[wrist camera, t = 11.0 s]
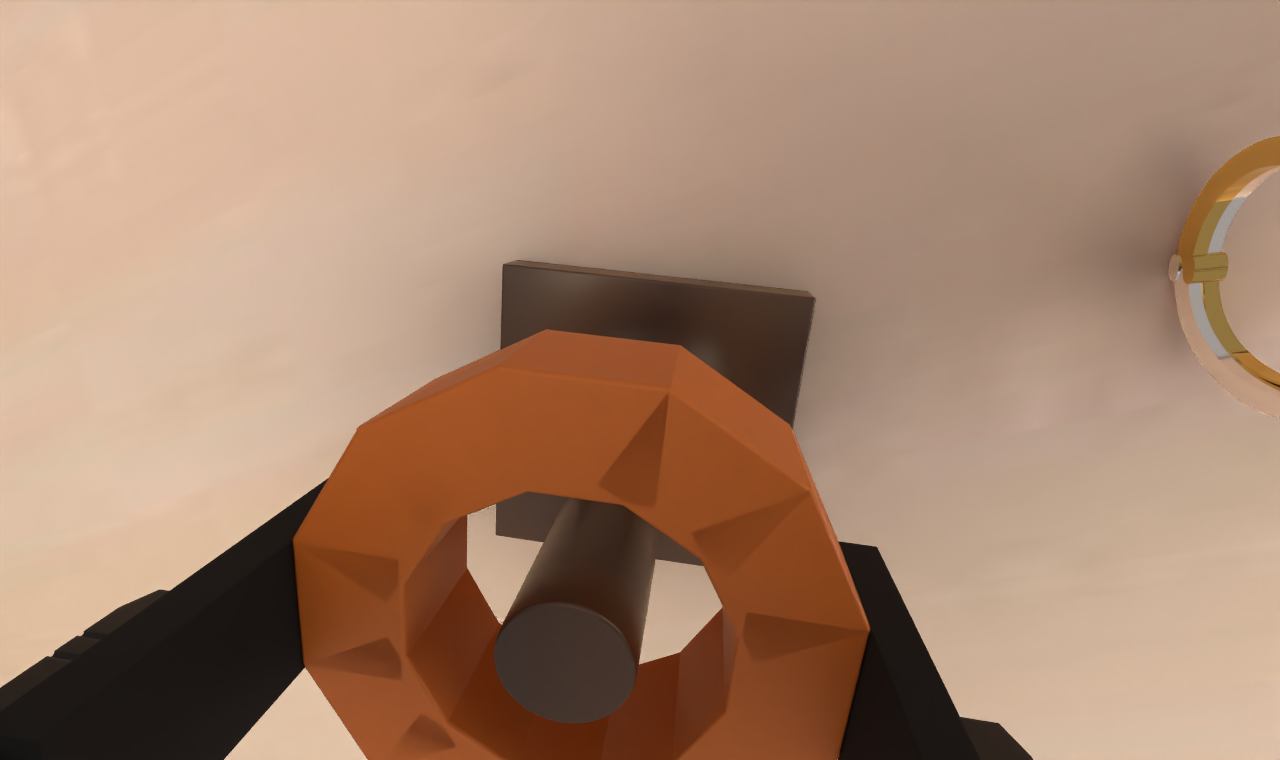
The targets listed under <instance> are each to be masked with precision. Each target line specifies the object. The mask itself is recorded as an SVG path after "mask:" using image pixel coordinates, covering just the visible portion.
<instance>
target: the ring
mask: <svg viewBox="0 0 1280 760" xmlns="http://www.w3.org/2000/svg"><path fill="white" fill-rule="evenodd" d="M1279 170H1280V136H1276V137H1272V138H1268V139H1265V140H1262V141H1260V142H1257V143H1255V144H1253V145H1251V146H1249V147H1247V148H1246V149H1244V150H1242V151H1241V152H1239V153H1238V154H1236V155H1235V156H1233V157H1232V158H1231V159H1230V160H1228V161H1227V162H1226V163H1225V164H1224V165H1223V166H1222V167H1221V168H1220V169H1219V170H1218V171H1217V172H1216V173H1215V174H1214V175H1213V176H1212V177H1211V179H1210V180H1209V181H1208V183H1207V184H1206V185H1205V187H1204V188H1203V190H1202V191H1201V193H1200V194H1199V196H1198V198H1197V199H1196V201H1195V203H1194V205H1193V207H1192V209H1191V211H1190V213H1189V216H1188V218H1187V221H1186V223H1185V226H1184V229H1183V232H1182V236H1181V239H1180V243H1179V248H1178V253H1177V254H1174V255H1172V257H1171V259H1170V262H1169V267H1168V274H1169V279H1170V281H1172V282H1173V281H1175V298H1176V305H1177V311H1178V315H1179V319H1180V323H1181V326H1182V329H1183V332H1184V334H1185V337H1186V339H1187V341H1188V343H1189V345H1190V347H1191V349H1192V351H1193V353H1194V354H1195V356H1196V357H1197V359H1198V361H1199V362H1200V363H1201V365H1202V366H1203V367H1204V369H1205V370H1206V371H1207V372H1208V374H1209V375H1210V376H1211V377H1212V378H1213V379H1214V380H1215V381H1216V382H1217V383H1218V384H1219V385H1220V386H1221V387H1222V388H1223V389H1224V390H1225V391H1227V392H1228V393H1229V394H1230V395H1232V396H1233V397H1234V398H1236V399H1237V400H1239V401H1240V402H1242V403H1243V404H1245V405H1247V406H1248V407H1250V408H1252V409H1254V410H1256V411H1259V412H1261V413H1263V414H1266V415H1269V416H1272V417H1276V418H1279V419H1280V373H1278V372H1276V371H1274V370H1273V369H1271V368H1269V367H1268V366H1266V365H1264V364H1263V363H1262V362H1260V361H1259V360H1258V359H1256V358H1255V357H1254V356H1253V355H1252V354H1250V353H1249V352H1248V351H1247V350H1246V349H1245V348H1244V346H1243V345H1242V344H1241V343H1240V342H1239V340H1238V339H1237V338H1236V336H1235V335H1234V333H1233V332H1232V330H1231V328H1230V326H1229V324H1228V322H1227V320H1226V318H1225V315H1224V312H1223V309H1222V305H1221V300H1220V294H1219V281H1222V280H1223V279H1224V278H1225V277H1226V274H1227V271H1228V256H1227V254H1226V253H1224V252H1221V250H1222V246H1223V242H1224V239H1225V236H1226V233H1227V231H1228V228H1229V226H1230V224H1231V222H1232V220H1233V218H1234V216H1235V214H1236V212H1237V211H1238V209H1239V208H1240V206H1241V205H1242V203H1243V202H1244V201H1245V199H1246V198H1247V197H1248V196H1249V195H1250V194H1251V192H1252V191H1253V190H1254V189H1255V188H1256V187H1257V186H1259V185H1260V184H1261V183H1262V182H1263V181H1264V180H1266V179H1267V178H1268V177H1270V176H1271V175H1272V174H1274V173H1276V172H1277V171H1279Z"/></svg>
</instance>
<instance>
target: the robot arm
mask: <svg viewBox="0 0 1280 760" xmlns="http://www.w3.org/2000/svg"><path fill="white" fill-rule="evenodd" d="M327 480H328V479H326V480H325V481H324V482H322V483H321V484H319V485H318V486H317V487H315V488H314V489H312V490H311V491H310V492H308V493H307V494H305V495H304V496H303V497H301V498H300V499H298V500H297V501H296V502H294V503H293V504H291V505H290V506H288V507H287V508H286V509H284V510H283V511H281V512H280V513H279V514H277V515H276V516H274V517H273V518H272V519H270V520H269V521H267V522H266V523H265V524H263V525H262V526H260V527H259V528H258V529H256V530H255V531H253V532H252V533H250V534H249V535H248V536H246V537H245V538H243V539H242V540H241V541H239V542H238V543H236V544H235V545H234V546H232V547H231V548H229V549H228V550H227V551H225V552H224V553H222V554H221V555H220V556H218V557H217V558H215V559H214V560H212V561H211V562H210V563H208V564H207V565H205V566H204V567H203V568H201V569H200V570H198V571H197V572H196V573H194V574H193V575H191V576H190V577H189V578H187V579H186V580H184V581H183V582H182V583H180V584H179V585H177V586H176V587H174V588H173V589H172V590H170V591H166V590H157V591H155V592H153V593H151V594H148V595H146V596H144V597H141V598H139V599H137V600H135V601H132V602H130V603H128V604H126V605H123V606H121V607H119V608H117V609H116V610H114V611H113V612H111V613H110V614H109V615H107V616H106V617H104V618H103V619H101V620H100V621H98V622H97V623H95V624H94V625H92V626H91V627H89V628H88V629H86V630H85V631H84V634H83V635H82V636H76V637H75V638H73V639H72V640H70V641H69V642H67V643H66V644H64V645H63V646H61V647H60V648H58V649H57V650H55V653H54V655H53V656H52V657H49V656H47V657H45V658H44V659H42V660H41V661H39V662H38V663H36V664H35V665H33V666H32V667H30V668H29V669H27V670H26V671H24V672H23V673H21V674H20V675H18V676H17V677H16V678H14V679H13V680H11V681H10V682H8V683H7V684H5V685H4V686H2V687H1V688H0V760H224V759H225V758H226V756H227V755H228V754H229V753H230V752H231V751H232V750H233V749H234V747H235V746H236V745H237V744H238V743H239V742H240V741H241V739H242V738H243V737H244V736H245V735H246V734H247V733H248V731H249V730H250V729H251V728H252V727H253V726H254V725H255V724H256V722H257V721H258V720H259V719H260V718H261V717H262V716H263V714H264V713H265V712H266V711H267V710H268V709H269V708H270V706H271V705H272V704H273V703H274V702H275V701H276V700H277V699H278V697H279V696H280V695H281V694H282V693H283V692H284V691H285V689H286V688H287V687H288V686H289V685H290V684H291V683H292V681H293V680H294V679H295V678H296V677H297V676H298V675H299V674H300V672H301V671H302V670H303V669H304V668H305V666H304V664H303V655H302V643H301V632H300V620H299V609H298V597H297V586H296V574H295V563H294V551H293V538H294V536H295V535H296V533H297V531H298V529H299V528H300V526H301V524H302V523H303V521H304V519H305V518H306V516H307V514H308V512H309V511H310V509H311V507H312V506H313V504H314V502H315V501H316V499H317V497H318V495H319V494H320V492H321V490H322V489H323V487H324V485H325V484H326V482H327ZM838 542H839V541H838ZM839 545H840V547H841V550H842V553H843V555H844V558H845V561H846V563H847V566H848V569H849V571H850V574H851V577H852V579H853V582H854V585H855V588H856V590H857V593H858V596H859V598H860V601H861V604H862V606H863V609H864V612H865V614H866V617H867V620H868V622H869V625H870V633H869V636H868V640H867V644H866V648H865V652H864V656H863V660H862V664H861V669H860V673H859V677H858V681H857V685H856V689H855V693H854V697H853V701H852V705H851V709H850V713H849V717H848V721H847V725H846V729H845V734H844V738H843V742H842V746H841V750H840V754H841V755H840V757H839V758H838V760H1033V759H1032V757H1031V756H1030V755H1029V754H1028V753H1027V752H1026V751H1025V750H1024V749H1023V748H1022V747H1021V746H1020V744H1019V743H1018V742H1017V741H1016V740H1015V739H1014V738H1013V737H1012V736H1011V735H1010V734H1009V733H1008V732H1007V731H1006V730H1005V729H1004V728H1003V727H1002V726H1001V725H1000V724H999V723H994V722H988V721H981V720H975V719H969V718H963V717H960V716H959V714H958V712H957V710H956V708H955V706H954V704H953V702H952V700H951V698H950V696H949V694H948V691H947V689H946V687H945V685H944V683H943V681H942V679H941V677H940V675H939V673H938V671H937V669H936V667H935V665H934V663H933V661H932V659H931V657H930V655H929V653H928V651H927V648H926V646H925V644H924V642H923V640H922V638H921V636H920V634H919V632H918V630H917V628H916V626H915V624H914V622H913V620H912V618H911V616H910V614H909V612H908V610H907V608H906V606H905V603H904V601H903V599H902V597H901V595H900V593H899V591H898V589H897V587H896V585H895V583H894V581H893V579H892V577H891V575H890V573H889V571H888V569H887V567H886V565H885V563H884V560H883V558H882V556H881V554H880V552H879V550H878V548H877V547H874V546H867V545H860V544H853V543H846V542H839Z"/></svg>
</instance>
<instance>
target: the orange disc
mask: <svg viewBox="0 0 1280 760" xmlns="http://www.w3.org/2000/svg"><path fill="white" fill-rule="evenodd" d="M525 492H534V493H541V494H548V495H555V496H562V497H569V498H576V499H583V500H590V501H597V502H605V503H612V504H619V505H623V506H625V507H626V508H628V509H629V510H630V511H632V512H633V513H635V514H636V515H638V516H639V517H640V518H642V519H643V520H645V521H646V522H648V523H649V524H650V525H652V526H653V527H655V528H656V529H658V530H659V531H660V532H662V533H663V534H665V535H666V536H668V537H669V538H670V539H672V540H673V541H675V542H676V543H678V544H679V545H680V546H682V547H683V548H685V549H686V550H688V551H689V552H690V553H692V554H693V555H695V556H696V557H698V558H699V559H700V560H701V561H702V563H703V565H704V568H705V570H706V572H707V574H708V576H709V578H710V580H711V582H712V584H713V586H714V589H715V591H716V593H717V595H718V597H719V599H720V601H721V603H722V605H723V607H722V609H721V610H720V611H719V612H718V613H717V614H716V615H715V616H714V617H713V618H712V619H711V620H710V621H709V622H708V623H707V624H706V625H705V627H704V628H703V629H702V630H701V631H700V632H699V633H698V634H697V635H696V636H695V637H694V638H693V639H692V640H691V641H690V642H689V643H688V645H687V646H686V647H685V648H684V649H683V650H682V651H681V652H680V653H677V654H673V655H670V656H667V657H663V658H660V659H656V660H653V661H650V662H646V663H643V664H639V665H638V671H637V677H636V682H635V685H634V688H633V690H632V692H631V694H630V696H629V697H628V698H627V700H626V701H625V702H624V703H623V705H621V706H620V707H619V708H618V709H617V710H616V711H614V712H613V713H611V714H610V715H608V716H606V717H604V718H601V719H599V720H596V721H592V722H587V723H563V722H557V721H553V720H549V719H546V718H543V717H541V716H539V715H537V714H534V713H533V712H531V711H529V710H528V709H526V708H525V707H523V706H522V705H521V704H519V703H518V702H517V701H516V700H515V699H514V698H513V697H512V696H511V695H510V694H509V693H508V691H507V690H506V689H505V687H504V686H503V684H502V682H501V680H500V678H499V676H498V673H497V670H496V666H495V661H494V647H495V641H496V638H497V635H498V633H499V630H500V628H501V626H502V625H501V624H500V623H499V622H498V621H497V619H496V617H495V615H494V614H493V612H492V610H491V609H490V607H489V605H488V603H487V602H486V600H485V598H484V596H483V595H482V593H481V591H480V589H479V588H478V586H477V584H476V583H475V581H474V579H473V577H472V576H471V574H470V572H469V570H468V569H467V515H468V514H470V513H473V512H476V511H478V510H481V509H484V508H486V507H489V506H491V505H494V504H497V503H499V502H502V501H504V500H507V499H510V498H512V497H515V496H518V495H520V494H523V493H525ZM293 551H294V563H295V574H296V586H297V597H298V609H299V620H300V632H301V643H302V655H303V664H304V666H305V667H306V669H307V670H308V672H309V673H310V675H311V676H312V678H313V679H314V681H315V682H316V684H317V685H318V687H319V688H320V690H321V691H322V693H323V694H324V696H325V697H326V699H327V700H328V701H329V703H330V704H331V706H332V707H333V709H334V710H335V712H336V713H337V715H338V716H339V718H340V719H341V721H342V722H343V724H344V725H345V727H346V728H347V730H348V731H349V733H350V734H351V736H352V737H353V739H354V740H355V742H356V743H357V744H358V746H359V747H360V749H361V750H362V752H363V753H364V755H365V756H366V758H367V759H368V760H837V759H838V758H839V757H840V755H841V754H840V750H841V746H842V742H843V738H844V734H845V729H846V725H847V721H848V717H849V713H850V709H851V705H852V701H853V697H854V693H855V689H856V685H857V681H858V677H859V673H860V669H861V664H862V660H863V656H864V652H865V648H866V644H867V640H868V636H869V633H870V625H869V622H868V620H867V617H866V614H865V612H864V609H863V606H862V604H861V601H860V598H859V596H858V593H857V590H856V588H855V585H854V582H853V579H852V577H851V574H850V571H849V569H848V566H847V563H846V561H845V558H844V555H843V553H842V550H841V547H840V545H839V542H838V539H837V537H836V534H835V532H834V530H833V527H832V525H831V522H830V520H829V518H828V515H827V513H826V510H825V508H824V505H823V503H822V501H821V498H820V496H819V493H818V491H817V489H816V486H815V484H814V481H813V479H812V477H811V474H810V472H809V469H808V467H807V465H806V462H805V460H804V457H803V455H802V453H801V450H800V448H799V445H798V443H797V440H796V438H795V436H794V433H793V431H792V428H791V426H790V424H788V423H787V422H785V421H784V420H783V419H781V418H780V417H778V416H777V415H776V414H774V413H773V412H772V411H770V410H769V409H767V408H766V407H765V406H763V405H762V404H761V403H759V402H758V401H757V400H755V399H754V398H752V397H751V396H750V395H748V394H747V393H746V392H744V391H743V390H741V389H740V388H739V387H737V386H736V385H735V384H733V383H732V382H730V381H729V380H728V379H726V378H725V377H724V376H722V375H721V374H719V373H718V372H717V371H715V370H714V369H713V368H711V367H710V366H708V365H707V364H706V363H704V362H703V361H702V360H700V359H699V358H697V357H696V356H695V355H693V354H692V353H691V352H689V351H688V350H687V349H685V348H684V347H682V346H680V345H674V344H666V343H657V342H649V341H640V340H632V339H623V338H615V337H606V336H598V335H589V334H581V333H572V332H564V331H555V330H549V329H546V330H544V331H541V332H539V333H537V334H535V335H532V336H530V337H528V338H526V339H523V340H521V341H519V342H517V343H515V344H512V345H510V346H508V347H506V348H503V349H501V350H499V351H497V352H494V353H492V354H490V355H488V356H486V357H483V358H481V359H479V360H477V361H474V362H472V363H470V364H468V365H465V366H463V367H461V368H459V369H457V370H454V371H452V372H450V373H448V374H445V375H443V376H441V377H439V378H436V379H434V380H433V381H431V382H430V383H428V384H426V385H425V386H423V387H421V388H420V389H418V390H417V391H415V392H413V393H412V394H410V395H409V396H407V397H405V398H404V399H402V400H400V401H399V402H397V403H396V404H394V405H392V406H391V407H389V408H388V409H386V410H384V411H383V412H381V413H380V414H378V415H376V416H375V417H373V418H371V419H370V420H368V421H367V422H365V423H363V424H362V425H360V426H359V427H358V428H357V431H356V433H355V434H354V436H353V438H352V439H351V441H350V443H349V445H348V446H347V448H346V450H345V451H344V453H343V455H342V456H341V458H340V460H339V462H338V463H337V465H336V467H335V468H334V470H333V472H332V473H331V475H330V477H329V478H328V480H327V482H326V484H325V485H324V487H323V489H322V490H321V492H320V494H319V495H318V497H317V499H316V501H315V502H314V504H313V506H312V507H311V509H310V511H309V512H308V514H307V516H306V518H305V519H304V521H303V523H302V524H301V526H300V528H299V529H298V531H297V533H296V535H295V536H294V538H293Z"/></svg>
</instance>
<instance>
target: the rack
mask: <svg viewBox="0 0 1280 760" xmlns="http://www.w3.org/2000/svg"><path fill="white" fill-rule="evenodd" d="M815 302H816V299H815V297H813V296H812V295H811V294H810V293H809V292H807V291H799V290H790V289H780V288H771V287H762V286H753V285H743V284H734V283H725V282H716V281H706V280H697V279H688V278H679V277H669V276H660V275H651V274H642V273H632V272H623V271H614V270H605V269H595V268H586V267H577V266H568V265H558V264H549V263H540V262H531V261H521V260H517V261H513V262H509V263H506V264H503V275H502V313H501V349H503V348H506V347H508V346H510V345H512V344H515V343H517V342H519V341H521V340H523V339H526V338H528V337H530V336H532V335H535V334H537V333H539V332H541V331H544V330H546V329H549V330H555V331H564V332H572V333H581V334H589V335H598V336H606V337H615V338H623V339H632V340H640V341H649V342H657V343H666V344H674V345H680V346H682V347H684V348H685V349H687V350H688V351H689V352H691V353H692V354H693V355H695V356H696V357H697V358H699V359H700V360H702V361H703V362H704V363H706V364H707V365H708V366H710V367H711V368H713V369H714V370H715V371H717V372H718V373H719V374H721V375H722V376H724V377H725V378H726V379H728V380H729V381H730V382H732V383H733V384H735V385H736V386H737V387H739V388H740V389H741V390H743V391H744V392H746V393H747V394H748V395H750V396H751V397H752V398H754V399H755V400H757V401H758V402H759V403H761V404H762V405H763V406H765V407H766V408H767V409H769V410H770V411H772V412H773V413H774V414H776V415H777V416H778V417H780V418H781V419H783V420H784V421H785V422H787V423H788V424H790V426H791V428H792V430H793V424H794V418H795V413H796V407H797V402H798V396H799V391H800V385H801V380H802V374H803V368H804V363H805V357H806V352H807V346H808V341H809V335H810V329H811V324H812V318H813V313H814V307H815ZM496 535H498V536H505V537H512V538H518V539H525V540H532V541H538V542H544V543H543V545H542V547H541V549H540V551H539V553H538V555H537V557H536V559H535V561H534V563H533V565H532V567H531V569H530V571H529V573H528V575H527V577H526V579H525V581H524V583H523V585H522V587H521V589H520V591H519V593H518V595H517V597H516V599H515V601H514V603H513V604H512V606H511V608H510V610H509V612H508V614H507V616H506V618H505V620H504V622H503V624H502V626H501V628H500V630H499V633H498V635H497V638H496V641H495V647H494V661H495V666H496V670H497V673H498V676H499V678H500V680H501V682H502V684H503V686H504V687H505V689H506V690H507V691H508V693H509V694H510V695H511V696H512V697H513V698H514V699H515V700H516V701H517V702H518V703H519V704H521V705H522V706H523V707H525V708H526V709H528V710H529V711H531V712H533V713H534V714H537V715H539V716H541V717H543V718H546V719H549V720H553V721H557V722H563V723H587V722H592V721H596V720H599V719H601V718H604V717H606V716H608V715H610V714H611V713H613V712H614V711H616V710H617V709H618V708H619V707H620V706H621V705H623V703H624V702H625V701H626V700H627V698H628V697H629V696H630V694H631V692H632V690H633V688H634V685H635V682H636V677H637V671H638V665H639V658H640V652H641V646H642V640H643V634H644V628H645V621H646V615H647V609H648V603H649V597H650V591H651V584H652V578H653V572H654V566H655V560H656V559H659V560H666V561H673V562H679V563H686V564H693V565H699V566H704V565H703V563H702V561H701V560H700V559H699V558H698V557H696V556H695V555H693V554H692V553H690V552H689V551H688V550H686V549H685V548H683V547H682V546H680V545H679V544H678V543H676V542H675V541H673V540H672V539H670V538H669V537H668V536H666V535H665V534H663V533H662V532H660V531H659V530H658V529H656V528H655V527H653V526H652V525H650V524H649V523H648V522H646V521H645V520H643V519H642V518H640V517H639V516H638V515H636V514H635V513H633V512H632V511H630V510H629V509H628V508H626V507H625V506H623V505H619V504H612V503H605V502H597V501H590V500H583V499H576V498H569V497H562V496H555V495H548V494H541V493H534V492H525V493H523V494H520V495H518V496H515V497H512V498H510V499H507V500H504V501H502V502H499V503H497V504H496Z"/></svg>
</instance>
